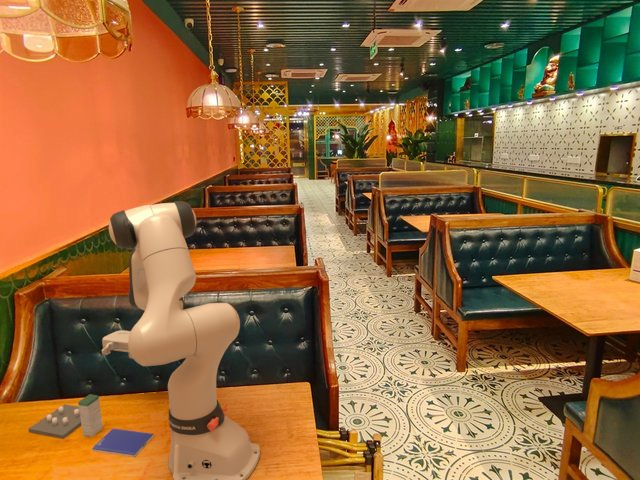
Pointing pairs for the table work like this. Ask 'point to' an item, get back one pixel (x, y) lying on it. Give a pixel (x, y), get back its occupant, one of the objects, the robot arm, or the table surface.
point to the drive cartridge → (90, 415)
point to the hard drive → (123, 442)
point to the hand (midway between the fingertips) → (117, 354)
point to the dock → (59, 422)
